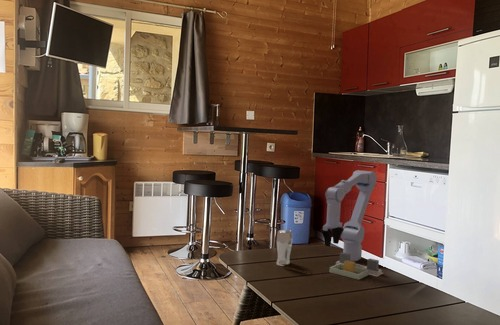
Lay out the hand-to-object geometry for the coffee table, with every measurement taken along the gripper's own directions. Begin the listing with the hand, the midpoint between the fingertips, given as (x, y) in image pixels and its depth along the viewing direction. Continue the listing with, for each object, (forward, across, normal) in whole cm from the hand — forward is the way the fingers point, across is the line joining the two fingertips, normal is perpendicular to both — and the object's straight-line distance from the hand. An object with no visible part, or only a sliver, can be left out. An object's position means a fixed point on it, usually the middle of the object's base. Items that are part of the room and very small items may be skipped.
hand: (331, 244), depth 186 cm
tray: (+10, -6, -12) cm, 17 cm away
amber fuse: (+9, -6, -12) cm, 17 cm away
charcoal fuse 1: (+9, +2, -6) cm, 11 cm away
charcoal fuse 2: (+9, +2, -18) cm, 21 cm away
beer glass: (+10, -14, +16) cm, 24 cm away
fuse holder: (+10, +2, -12) cm, 16 cm away
